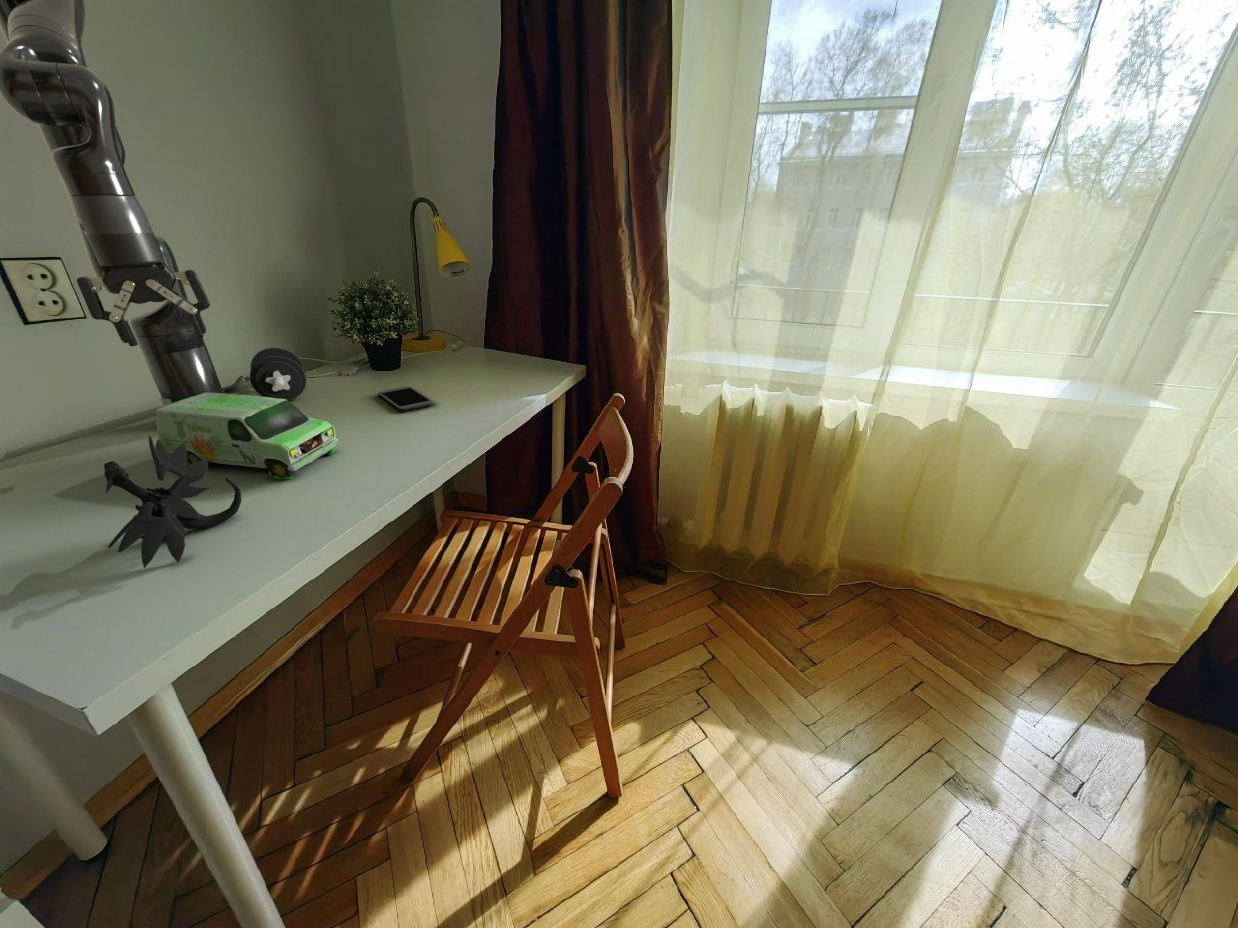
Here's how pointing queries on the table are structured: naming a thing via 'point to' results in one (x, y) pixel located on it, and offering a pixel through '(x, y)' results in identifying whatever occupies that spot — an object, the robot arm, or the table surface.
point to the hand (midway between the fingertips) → (168, 341)
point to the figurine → (165, 504)
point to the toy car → (245, 432)
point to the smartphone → (405, 398)
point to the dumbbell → (277, 374)
